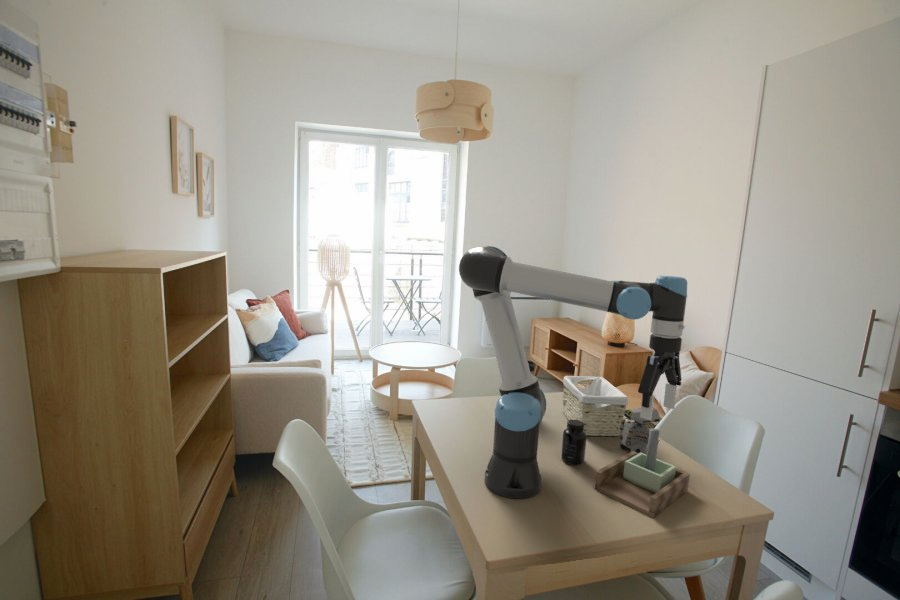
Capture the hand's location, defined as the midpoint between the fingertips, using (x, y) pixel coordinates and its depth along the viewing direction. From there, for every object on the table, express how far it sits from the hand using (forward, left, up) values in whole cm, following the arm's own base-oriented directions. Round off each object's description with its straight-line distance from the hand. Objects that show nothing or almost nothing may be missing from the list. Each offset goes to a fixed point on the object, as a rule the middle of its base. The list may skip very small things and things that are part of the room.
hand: (657, 412), depth 123 cm
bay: (-4, 0, -21) cm, 21 cm away
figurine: (+16, +11, -21) cm, 29 cm away
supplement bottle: (-5, +21, -21) cm, 30 cm away
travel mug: (+10, +54, -21) cm, 59 cm away
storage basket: (+24, +34, -21) cm, 47 cm away
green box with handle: (0, 0, -20) cm, 20 cm away
